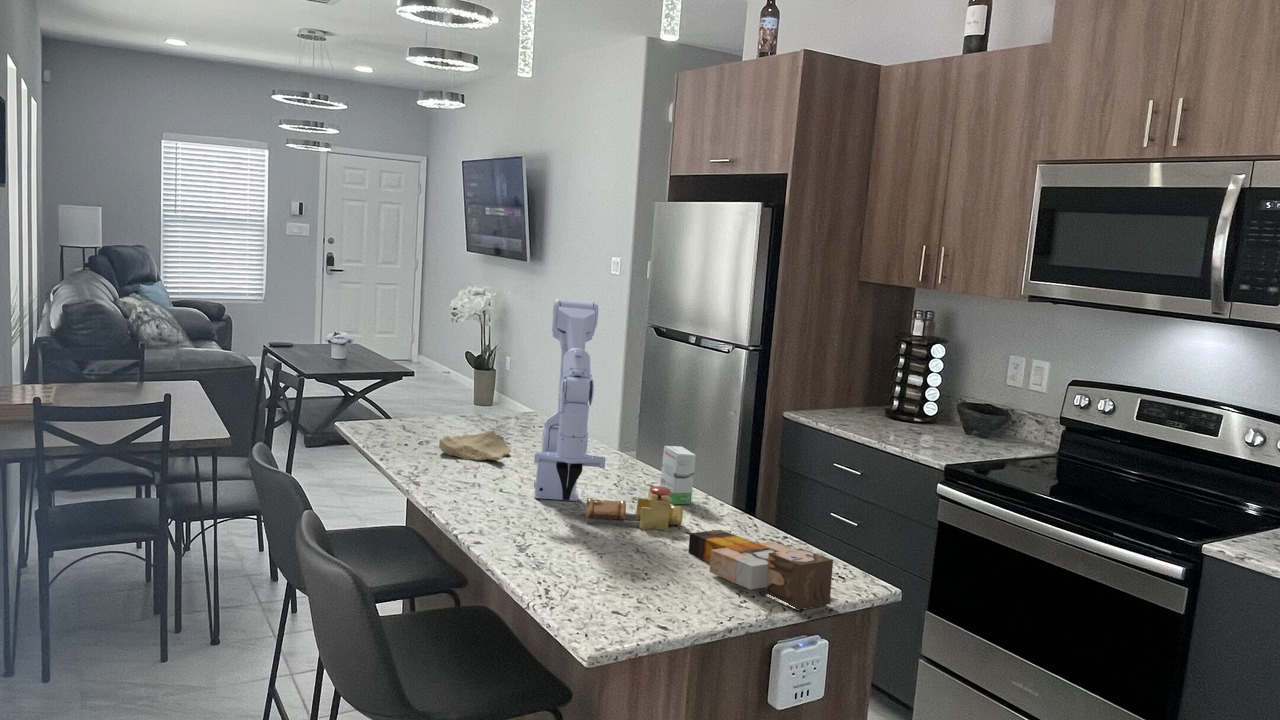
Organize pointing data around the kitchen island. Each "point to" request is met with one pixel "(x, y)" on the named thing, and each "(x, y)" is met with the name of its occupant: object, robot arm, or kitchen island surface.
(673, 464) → the ink box
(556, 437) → the robot arm
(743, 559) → the toy
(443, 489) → the kitchen island surface
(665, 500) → the valve
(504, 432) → the kitchen island surface
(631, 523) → the rails
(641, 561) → the kitchen island surface
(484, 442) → the rock
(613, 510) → the coupling
